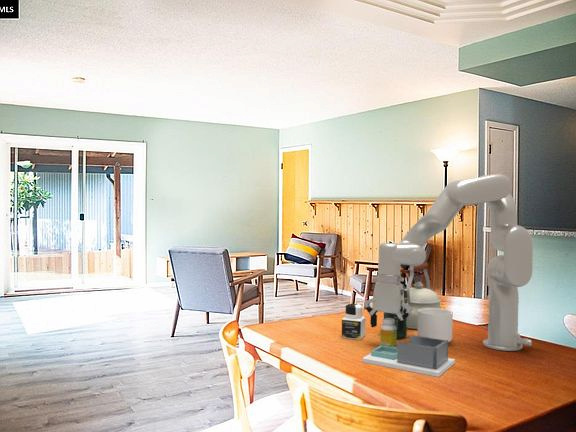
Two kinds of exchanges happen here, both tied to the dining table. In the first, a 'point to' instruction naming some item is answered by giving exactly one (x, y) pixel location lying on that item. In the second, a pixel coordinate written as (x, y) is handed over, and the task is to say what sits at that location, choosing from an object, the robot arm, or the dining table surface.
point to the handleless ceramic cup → (435, 323)
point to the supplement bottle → (388, 333)
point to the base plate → (389, 359)
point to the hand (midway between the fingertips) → (386, 328)
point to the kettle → (420, 296)
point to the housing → (423, 352)
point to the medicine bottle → (353, 322)
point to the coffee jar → (394, 316)
